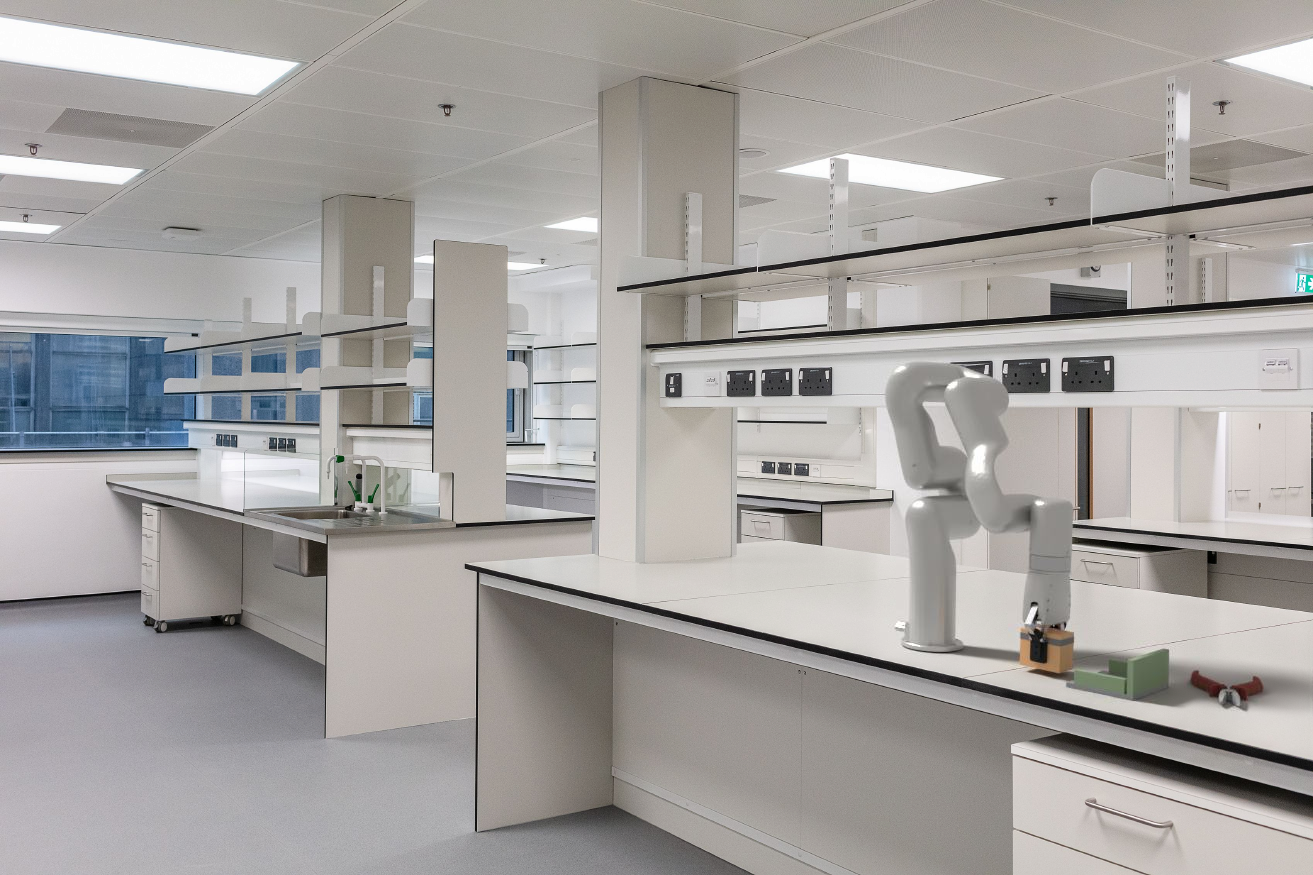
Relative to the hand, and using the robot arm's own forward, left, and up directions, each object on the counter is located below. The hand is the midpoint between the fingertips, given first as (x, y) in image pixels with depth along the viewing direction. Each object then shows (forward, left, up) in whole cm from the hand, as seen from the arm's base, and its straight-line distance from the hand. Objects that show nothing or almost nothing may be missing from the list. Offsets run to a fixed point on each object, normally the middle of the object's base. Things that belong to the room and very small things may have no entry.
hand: (1046, 658), depth 199 cm
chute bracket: (+14, 0, -3) cm, 14 cm away
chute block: (0, 0, -2) cm, 2 cm away
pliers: (+27, +10, -3) cm, 29 cm away
